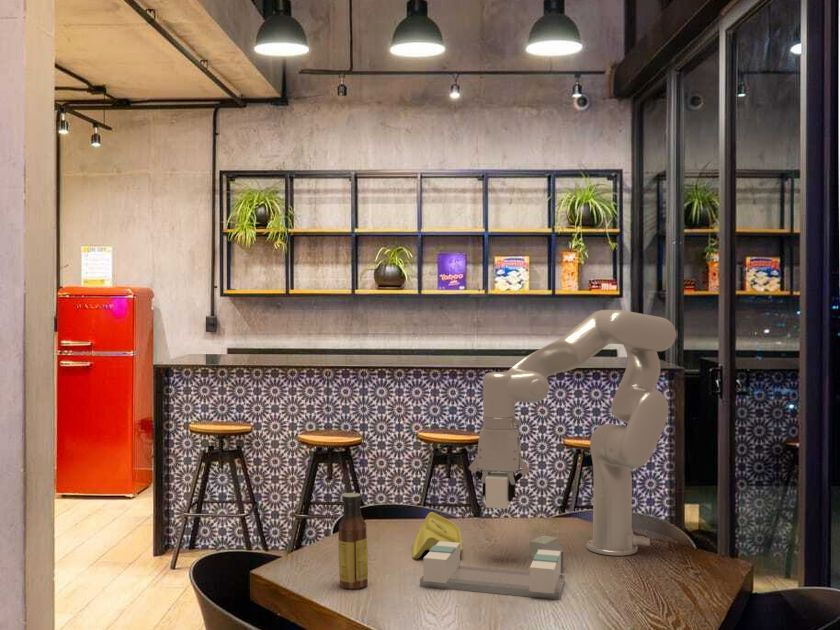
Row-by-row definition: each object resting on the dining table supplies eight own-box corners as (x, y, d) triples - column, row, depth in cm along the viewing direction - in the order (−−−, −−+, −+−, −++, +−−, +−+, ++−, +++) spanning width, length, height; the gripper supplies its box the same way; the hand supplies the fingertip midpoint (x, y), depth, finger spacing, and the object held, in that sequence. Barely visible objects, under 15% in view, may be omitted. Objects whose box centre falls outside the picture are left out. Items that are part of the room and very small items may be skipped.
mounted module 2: (560, 573, 186) (561, 549, 186) (554, 593, 172) (554, 567, 172) (538, 571, 187) (538, 547, 187) (529, 591, 174) (529, 565, 174)
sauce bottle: (366, 580, 184) (367, 490, 185) (369, 589, 178) (370, 496, 178) (336, 581, 183) (337, 491, 183) (338, 591, 177) (339, 497, 177)
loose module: (512, 501, 203) (512, 471, 203) (506, 508, 195) (506, 477, 195) (491, 500, 204) (491, 470, 204) (485, 507, 197) (485, 476, 197)
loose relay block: (560, 565, 197) (561, 544, 197) (562, 573, 191) (563, 552, 191) (539, 565, 198) (539, 544, 198) (541, 572, 192) (541, 551, 192)
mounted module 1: (460, 564, 192) (460, 541, 192) (446, 583, 178) (446, 558, 178) (438, 562, 193) (438, 539, 193) (423, 581, 180) (423, 556, 180)
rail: (564, 582, 185) (564, 575, 185) (559, 599, 173) (559, 592, 173) (433, 570, 193) (433, 563, 193) (420, 586, 181) (420, 579, 181)
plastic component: (462, 552, 200) (425, 533, 199) (449, 579, 200) (411, 560, 200) (460, 525, 219) (426, 508, 219) (447, 549, 220) (413, 533, 220)
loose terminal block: (557, 553, 208) (557, 537, 208) (544, 560, 202) (545, 543, 202) (542, 551, 210) (543, 535, 210) (530, 557, 204) (530, 541, 204)
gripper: (536, 423, 201) (536, 498, 201) (467, 420, 206) (467, 494, 206) (532, 427, 194) (532, 505, 194) (460, 424, 198) (460, 500, 199)
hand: (498, 498), depth 200 cm, fingers closed on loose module, 5 cm apart
